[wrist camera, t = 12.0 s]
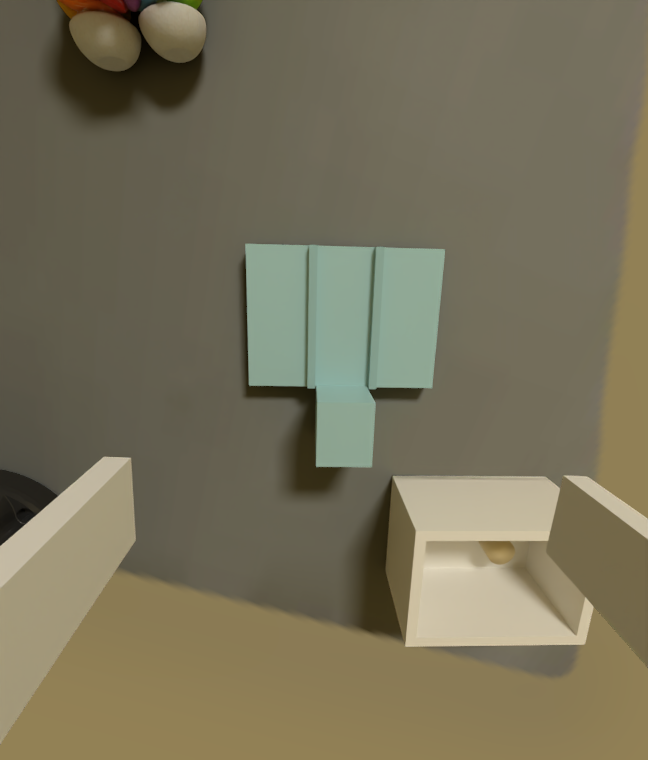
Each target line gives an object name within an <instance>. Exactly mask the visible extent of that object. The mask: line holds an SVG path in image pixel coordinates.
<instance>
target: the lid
mask: <svg viewBox="0 0 648 760" xmlns="http://www.w3.org/2000/svg"><path fill="white" fill-rule="evenodd" d="M444 257H445V249H416V248H385V247H344V246H318V245H309V246H308V245H272V244H246V284H247V325H248V366H249V386H307V388H314V389H315V386H316V404H315V453H316V467H372V456H373V439H374V422H375V405H376V403H375V401H374V399H373V397H372V396H371V394H370V392H369V390H368V389H376V387H389V388H432V383H433V373H434V362H435V351H436V341H437V330H438V320H439V309H440V299H441V288H442V278H443V267H444ZM367 387H368V388H367Z"/></svg>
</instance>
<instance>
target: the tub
mask: <svg viewBox="0 0 648 760" xmlns="http://www.w3.org/2000/svg"><path fill="white" fill-rule="evenodd" d="M559 492H560V488H559V487H557V486H556V485H555V484H554V483H553V482H551V481H550V480H549V479H548V478H547V477H534V476H392V489H391V502H390V515H389V529H388V542H387V556H386V569H385V571H386V575H387V579H388V583H389V587H390V591H391V594H392V598H393V602H394V606H395V610H396V614H397V617H398V621H399V625H400V629H401V633H402V636H403V640H404V644H405V647H413V646H498V645H583V644H585V641H586V637H587V633H588V629H589V624H590V620H591V615H592V611H593V607H594V606H593V605H592V604H591V603H590V602H589V601H588V600H587V598H586V597H585V596H584V595H583V594H582V593H581V592H580V590H579V589H578V588H577V587H576V586H575V585H574V584H573V583H572V581H571V580H570V579H569V578H568V577H567V576H566V575H565V573H564V572H563V571H562V570H561V569H560V568H559V567H558V566H557V564H556V563H555V562H554V561H553V560H552V559H551V558H550V556H549V555H548V554H547V553H546V548H547V543H548V539H549V535H550V531H551V526H552V522H553V518H554V513H555V509H556V505H557V501H558V496H559Z"/></svg>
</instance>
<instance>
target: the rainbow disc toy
mask: <svg viewBox="0 0 648 760" xmlns="http://www.w3.org/2000/svg"><path fill="white" fill-rule="evenodd" d="M57 2H58V4H59V5H60V7H61V8H62V10H63V11H64V12H65V13H66V15H67V16H68V17H69V18H70V19H71V20H70V23H69V28H70V32H71V35H72V37H73V39H74V41H75V43H76V45H77V46H78V48H79V49H80V51H81V52H82V53H83V54H84V55H85V56H86V57H87V58H88V59H89V60H90V61H91V62H92V63H94V64H95V65H97V66H98V67H100V68H103V69H106V70H110V71H124V70H126V69H128V68H130V67H131V66H132V65H133V64H135V62H136V61H137V59H138V57H139V54H140V50H141V34H140V32H139V31H138V30H137V28H136V27H135V26H134V25H132V24H131V23H130V20H131V12H130V10H131V11H133V12H136V11H140V12H141V14H140V15H139V17H138V20H139V26H140V29H141V32H142V34H143V36H144V38H145V39H146V41H147V42H148V44H149V45H150V46H151V48H152V49H153V50H154V51H155V52H156V53H157V54H159V55H160V56H161V57H163V58H165V59H166V60H169V61H172V62H176V63H184V62H188V61H191V60H192V59H194V58H195V57H196V56H198V54H199V53H200V52H201V50H202V48H203V45H204V43H205V39H206V22H205V19H204V17H203V16H202V15H201V13H199V12H198V11H197V9H198V7H199V6H200V4H201V2H202V0H57Z"/></svg>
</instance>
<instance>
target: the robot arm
mask: <svg viewBox="0 0 648 760" xmlns="http://www.w3.org/2000/svg"><path fill="white" fill-rule="evenodd" d="M135 540H136V536H135V519H134V501H133V484H132V467H131V458H122V457H103V458H102V459H101V460H100V461H99V462H97V463H96V464H95V465H94V466H93V467H92V468H90V469H89V470H88V471H87V472H86V473H85V474H83V475H82V476H81V477H80V478H79V479H78V480H77V481H75V482H74V483H73V484H72V485H71V486H70V487H68V488H67V489H66V490H65V491H64V492H63V493H61V494H60V495H59V496H57V495H56V494H54V493H53V492H52V491H50V490H49V489H48V488H46V487H45V486H43V485H41V484H40V483H38V482H36V481H34V480H32V479H30V478H27V477H25V476H22V475H20V474H17V473H13V472H9V471H5V470H0V744H1V742H2V741H3V739H4V738H5V736H6V735H7V733H8V732H9V730H10V729H11V727H12V726H13V724H14V723H15V721H16V719H17V718H18V717H19V715H20V714H21V712H22V711H23V709H24V708H25V706H26V705H27V703H28V702H29V700H30V699H31V697H32V696H33V694H34V693H35V691H36V690H37V688H38V687H39V685H40V684H41V682H42V681H43V679H44V678H45V676H46V675H47V673H48V672H49V670H50V668H51V667H52V665H53V664H54V663H55V661H56V659H57V658H58V656H59V655H60V653H61V652H62V650H63V649H64V647H65V646H66V644H67V643H68V641H69V640H70V638H71V637H72V635H73V634H74V632H75V631H76V629H77V628H78V626H79V625H80V623H81V622H82V620H83V618H84V617H85V616H86V614H87V613H88V611H89V610H90V608H91V607H92V605H93V604H94V602H95V601H96V599H97V597H98V596H99V595H100V593H101V592H102V590H103V589H104V587H105V586H106V584H107V583H108V581H109V580H110V578H111V576H112V575H113V574H114V572H115V571H116V569H117V568H118V566H119V564H120V563H121V561H122V560H123V558H124V557H125V555H126V554H127V552H128V551H129V549H130V548H131V546H132V545H133V543H134V542H135ZM546 553H547V554H548V555H549V556H550V558H551V559H552V560H553V561H554V562H555V563H556V564H557V566H558V567H559V568H560V569H561V570H562V571H563V572H564V573H565V575H566V576H567V577H568V578H569V579H570V580H571V581H572V583H573V584H574V585H575V586H576V587H577V588H578V589H579V590H580V592H581V593H582V594H583V595H584V596H585V597H586V598H587V600H588V601H589V602H590V603H591V604H592V605H593V606H594V607H595V609H596V610H597V611H598V612H599V613H600V614H601V615H602V617H603V618H604V619H605V620H606V621H607V622H608V623H609V624H610V626H611V627H612V628H613V629H614V630H615V631H616V632H617V633H618V635H619V636H620V637H621V638H622V639H623V640H624V641H625V643H627V645H628V646H629V647H630V648H631V649H632V651H633V652H634V653H635V654H636V655H637V656H638V657H639V658H640V659H641V661H642V662H643V663H644V664H645V665H646V666H647V668H648V519H647V518H646V517H645V516H643V515H641V514H640V513H639V512H637V511H636V510H634V509H633V508H631V507H630V506H629V505H627V504H626V503H624V502H623V501H622V500H620V499H618V498H617V497H616V496H614V495H613V494H611V493H610V492H609V491H607V490H606V489H604V488H603V487H601V486H600V485H599V484H597V483H596V482H594V481H593V480H591V479H590V478H588V477H587V476H564V475H563V479H562V483H561V488H560V492H559V496H558V501H557V505H556V509H555V513H554V518H553V522H552V526H551V531H550V535H549V539H548V543H547V548H546Z"/></svg>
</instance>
